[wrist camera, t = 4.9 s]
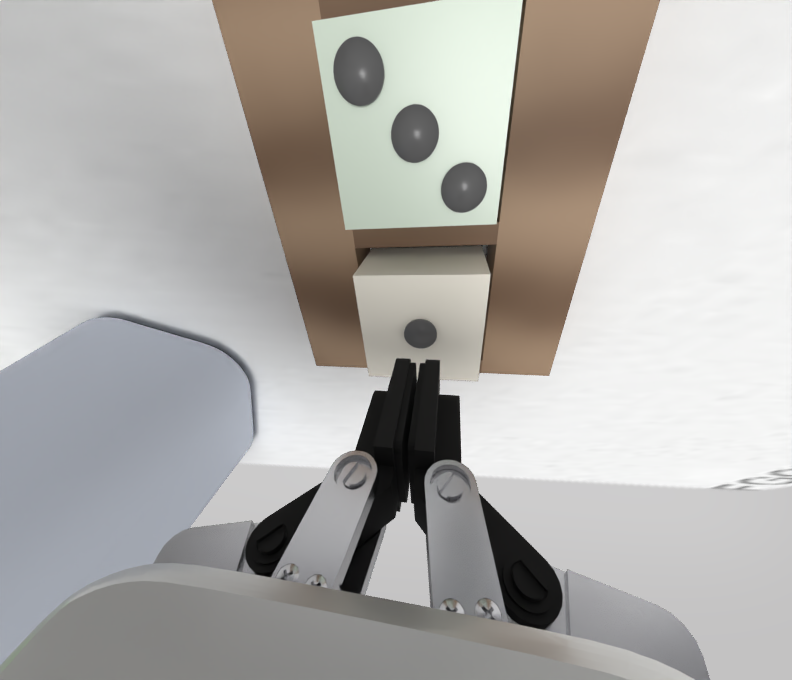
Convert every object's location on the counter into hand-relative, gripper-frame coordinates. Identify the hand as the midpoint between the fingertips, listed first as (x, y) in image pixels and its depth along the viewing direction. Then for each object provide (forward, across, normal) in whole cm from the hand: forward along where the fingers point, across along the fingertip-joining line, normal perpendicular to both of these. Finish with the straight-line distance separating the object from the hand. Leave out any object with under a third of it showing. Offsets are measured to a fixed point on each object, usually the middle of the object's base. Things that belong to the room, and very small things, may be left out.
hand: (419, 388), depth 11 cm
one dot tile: (+8, 0, 0) cm, 8 cm away
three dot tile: (+8, 0, -8) cm, 11 cm away
